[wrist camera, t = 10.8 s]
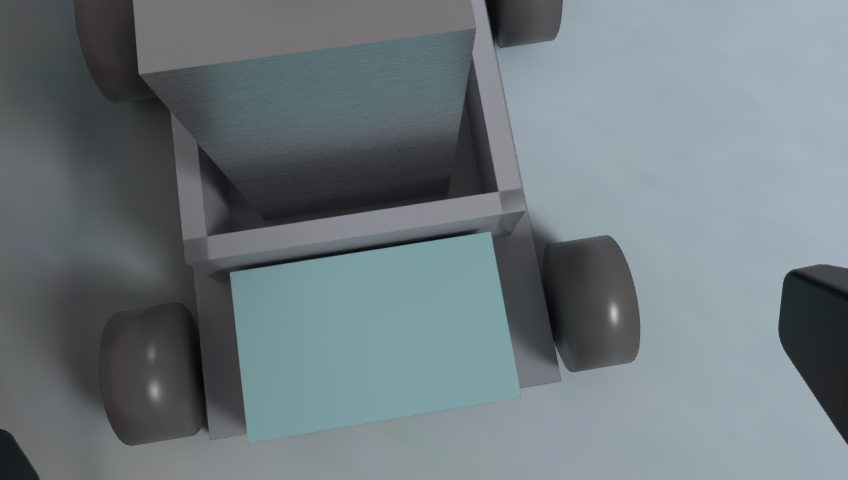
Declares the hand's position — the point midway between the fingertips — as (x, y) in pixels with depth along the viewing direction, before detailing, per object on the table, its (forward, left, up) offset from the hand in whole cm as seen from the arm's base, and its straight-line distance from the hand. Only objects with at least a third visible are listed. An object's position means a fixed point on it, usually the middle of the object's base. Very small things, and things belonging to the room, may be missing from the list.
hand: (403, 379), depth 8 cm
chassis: (+4, +5, -13) cm, 15 cm away
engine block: (+6, +6, -12) cm, 15 cm away
